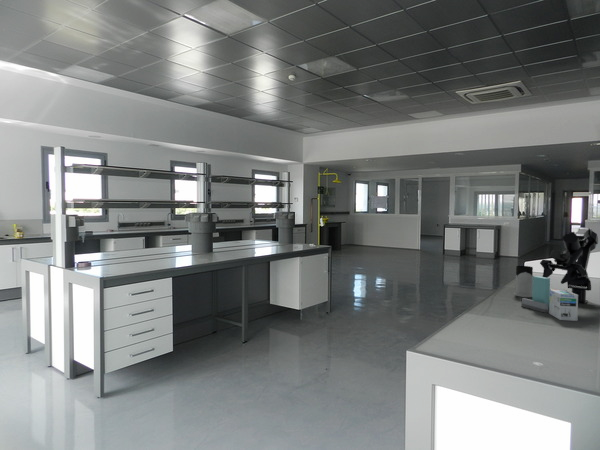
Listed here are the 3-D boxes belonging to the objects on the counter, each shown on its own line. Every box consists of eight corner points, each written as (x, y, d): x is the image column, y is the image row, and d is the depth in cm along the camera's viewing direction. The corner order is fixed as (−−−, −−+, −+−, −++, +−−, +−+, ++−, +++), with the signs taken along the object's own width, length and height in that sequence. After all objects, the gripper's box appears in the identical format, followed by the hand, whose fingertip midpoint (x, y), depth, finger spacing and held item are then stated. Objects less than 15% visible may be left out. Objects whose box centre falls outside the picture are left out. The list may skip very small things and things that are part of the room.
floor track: (521, 306, 181) (521, 298, 181) (536, 305, 184) (536, 297, 184) (545, 312, 170) (545, 304, 170) (560, 311, 172) (560, 302, 172)
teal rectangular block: (532, 304, 179) (532, 276, 179) (537, 304, 180) (537, 276, 180) (544, 307, 173) (544, 278, 173) (549, 307, 174) (550, 278, 174)
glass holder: (515, 296, 203) (516, 267, 203) (511, 291, 216) (512, 264, 216) (534, 297, 200) (535, 268, 199) (530, 292, 213) (530, 264, 212)
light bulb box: (578, 321, 157) (579, 294, 156) (559, 320, 158) (560, 293, 158) (565, 314, 167) (566, 289, 167) (548, 313, 168) (548, 288, 168)
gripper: (543, 242, 188) (525, 266, 185) (581, 246, 171) (562, 272, 168) (555, 258, 191) (537, 282, 188) (594, 263, 173) (575, 289, 170)
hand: (551, 281), depth 179 cm, fingers open, 9 cm apart
